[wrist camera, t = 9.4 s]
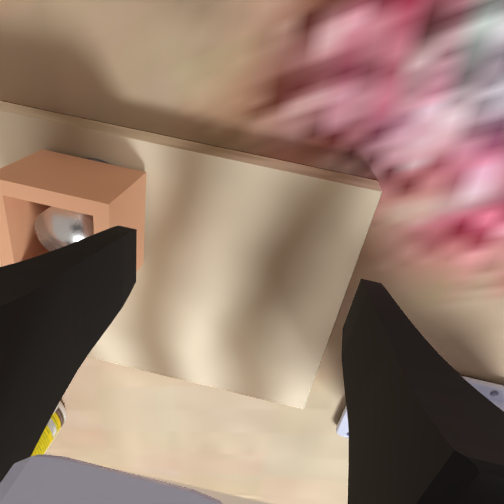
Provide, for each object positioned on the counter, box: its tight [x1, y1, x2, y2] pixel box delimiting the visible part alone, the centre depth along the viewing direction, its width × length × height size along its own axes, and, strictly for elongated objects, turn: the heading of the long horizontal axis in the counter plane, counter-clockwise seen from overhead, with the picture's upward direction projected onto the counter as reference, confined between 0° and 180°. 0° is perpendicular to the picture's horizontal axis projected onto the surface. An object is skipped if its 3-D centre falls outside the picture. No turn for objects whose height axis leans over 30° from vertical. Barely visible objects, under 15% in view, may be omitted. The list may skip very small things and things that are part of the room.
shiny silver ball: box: [35, 158, 112, 252], centre depth 20 cm, size 5×5×5 cm
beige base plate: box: [0, 101, 382, 409], centre depth 24 cm, size 20×16×2 cm
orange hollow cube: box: [0, 149, 146, 272], centre depth 19 cm, size 5×5×5 cm
